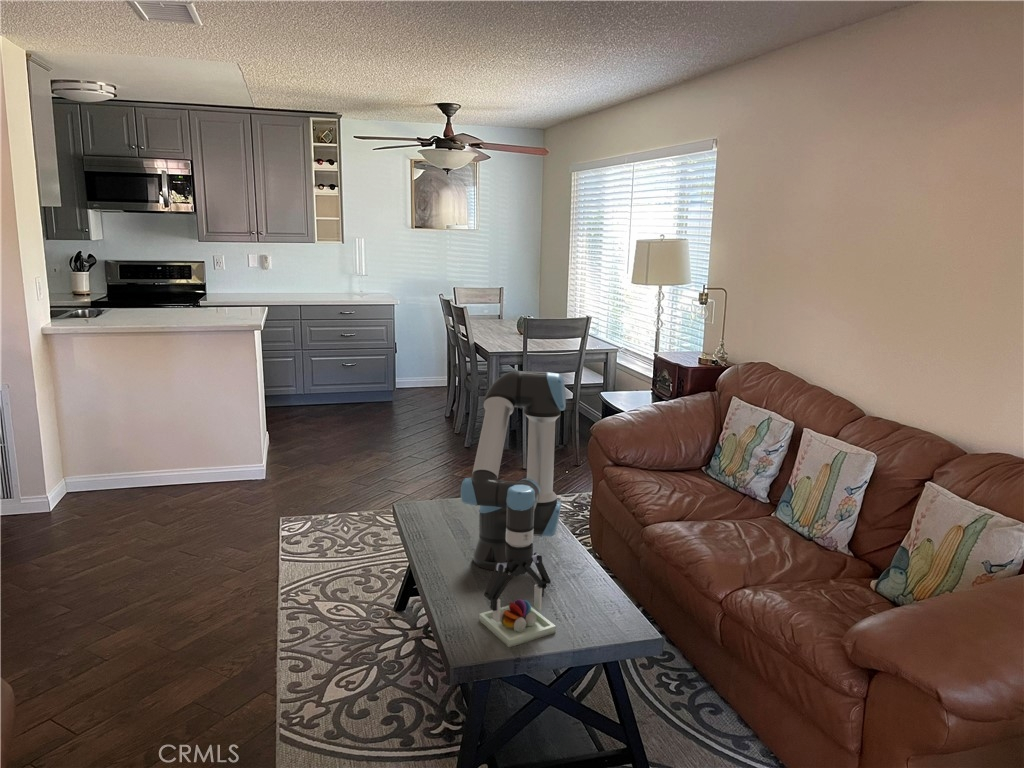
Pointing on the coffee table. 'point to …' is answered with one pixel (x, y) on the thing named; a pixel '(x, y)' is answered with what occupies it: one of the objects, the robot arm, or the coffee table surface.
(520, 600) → the rainbow lobed toy
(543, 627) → the tray
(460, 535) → the coffee table surface
